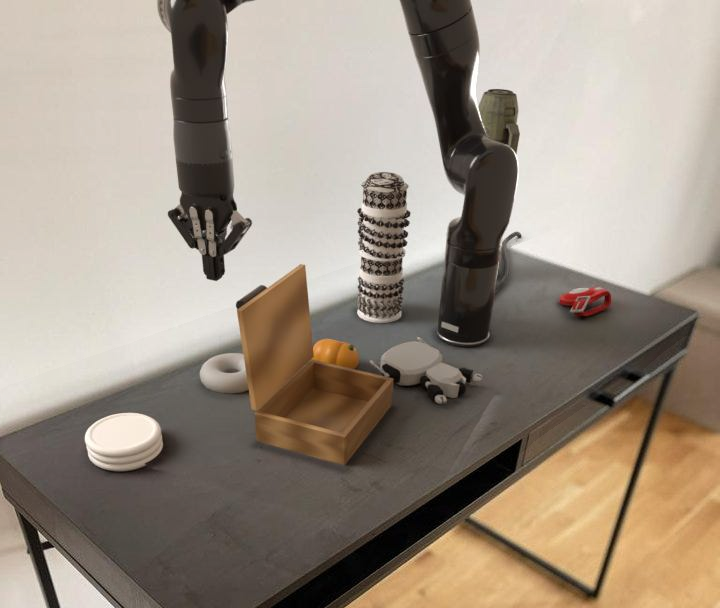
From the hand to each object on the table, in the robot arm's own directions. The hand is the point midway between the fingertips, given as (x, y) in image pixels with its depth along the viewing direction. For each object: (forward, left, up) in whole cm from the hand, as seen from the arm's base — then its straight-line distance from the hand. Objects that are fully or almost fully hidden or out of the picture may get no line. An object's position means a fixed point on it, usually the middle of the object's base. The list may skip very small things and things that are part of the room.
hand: (214, 278), depth 112 cm
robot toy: (-13, +30, -17) cm, 37 cm away
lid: (+5, +14, -4) cm, 15 cm away
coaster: (+23, -1, -17) cm, 29 cm away
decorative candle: (-35, +13, -17) cm, 41 cm away
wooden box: (+5, +21, -17) cm, 27 cm away
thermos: (-63, +24, -17) cm, 69 cm away
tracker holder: (-55, +47, -17) cm, 74 cm away
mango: (-10, +15, -17) cm, 25 cm away
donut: (0, +2, -17) cm, 17 cm away
